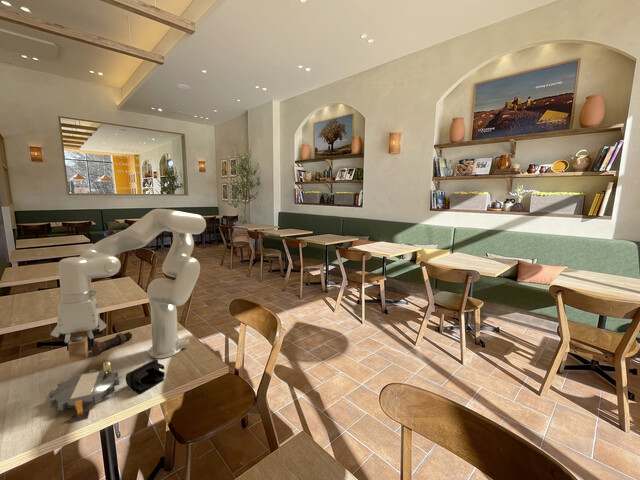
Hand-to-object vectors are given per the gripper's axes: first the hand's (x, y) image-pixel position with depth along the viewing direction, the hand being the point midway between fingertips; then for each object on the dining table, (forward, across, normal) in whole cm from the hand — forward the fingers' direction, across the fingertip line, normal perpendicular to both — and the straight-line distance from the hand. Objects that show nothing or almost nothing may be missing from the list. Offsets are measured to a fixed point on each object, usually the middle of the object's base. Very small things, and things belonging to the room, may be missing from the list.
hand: (81, 349), depth 96 cm
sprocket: (+14, -1, +1) cm, 14 cm away
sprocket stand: (+15, -1, +6) cm, 17 cm away
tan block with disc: (+1, 0, 0) cm, 1 cm away
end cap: (+16, -18, +3) cm, 24 cm away
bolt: (+16, -5, -31) cm, 35 cm away
